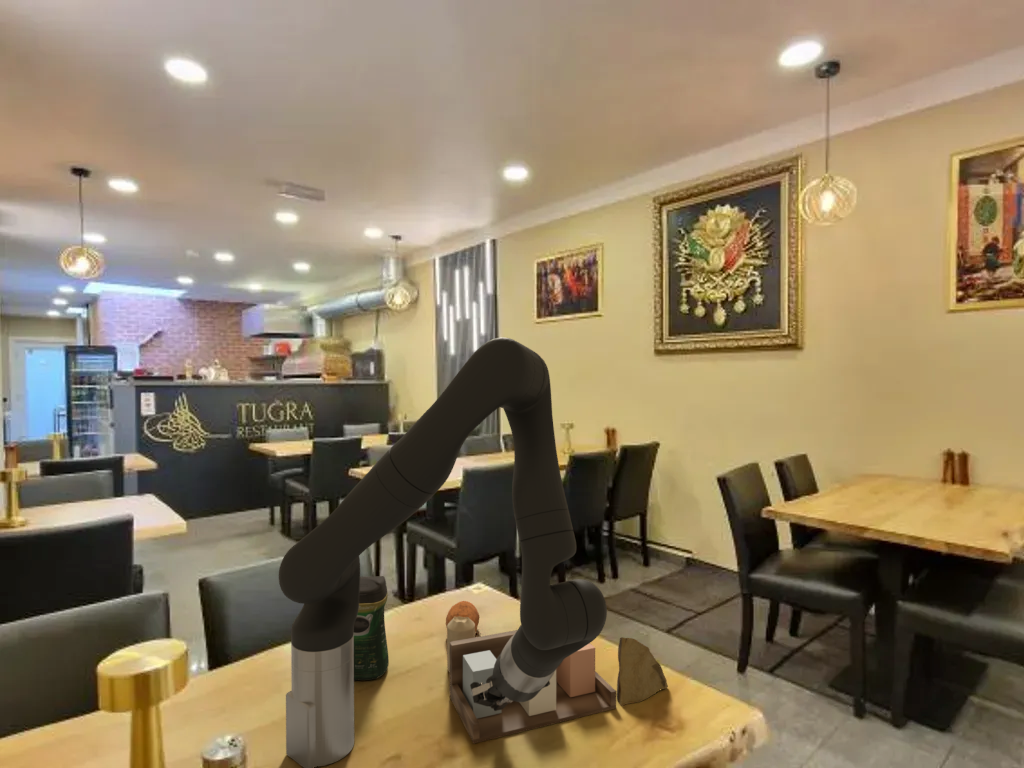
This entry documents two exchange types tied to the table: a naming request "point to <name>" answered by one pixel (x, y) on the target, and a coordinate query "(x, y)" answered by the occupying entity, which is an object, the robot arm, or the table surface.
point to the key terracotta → (578, 672)
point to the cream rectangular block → (542, 699)
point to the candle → (459, 632)
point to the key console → (514, 713)
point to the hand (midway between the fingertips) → (496, 703)
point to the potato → (463, 612)
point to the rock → (637, 672)
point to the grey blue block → (478, 679)
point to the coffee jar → (370, 630)
